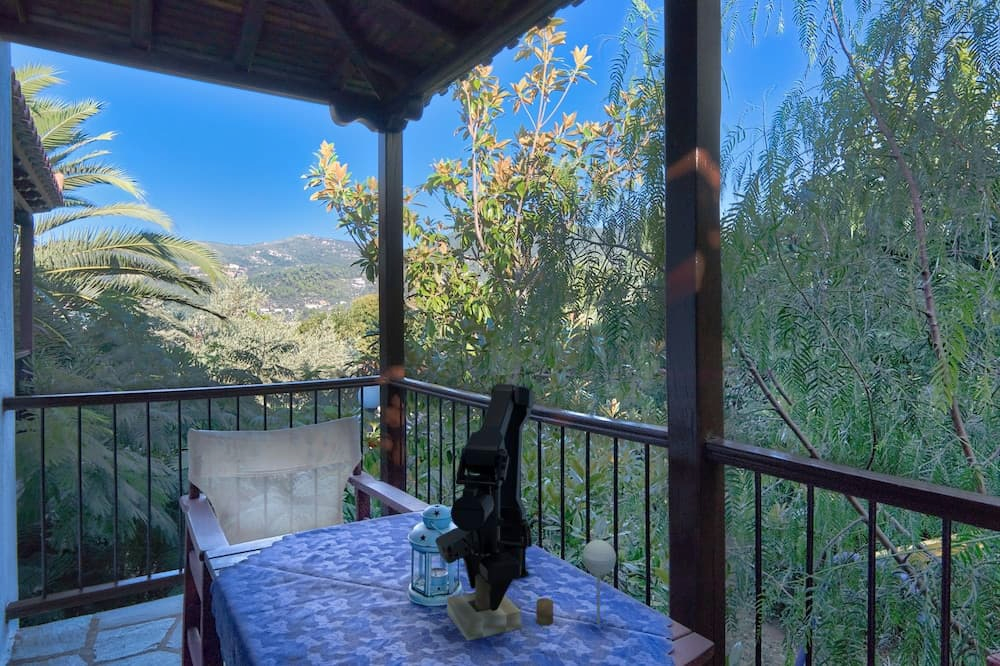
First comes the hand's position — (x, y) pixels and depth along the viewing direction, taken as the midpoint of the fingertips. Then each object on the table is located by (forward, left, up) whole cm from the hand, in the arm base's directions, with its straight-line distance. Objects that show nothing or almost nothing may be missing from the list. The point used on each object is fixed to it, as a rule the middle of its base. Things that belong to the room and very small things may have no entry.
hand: (483, 598), depth 109 cm
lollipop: (-18, +10, -4) cm, 21 cm away
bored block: (0, 0, -4) cm, 4 cm away
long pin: (0, 0, -4) cm, 4 cm away
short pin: (-10, +5, -4) cm, 12 cm away
